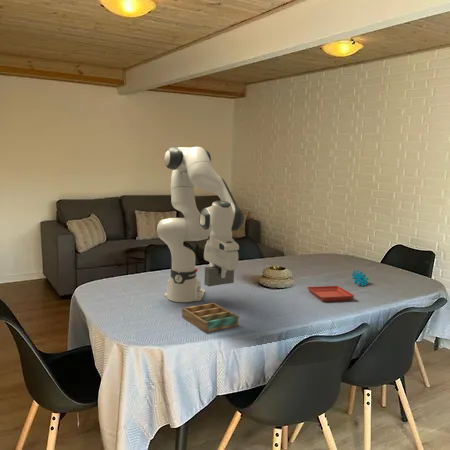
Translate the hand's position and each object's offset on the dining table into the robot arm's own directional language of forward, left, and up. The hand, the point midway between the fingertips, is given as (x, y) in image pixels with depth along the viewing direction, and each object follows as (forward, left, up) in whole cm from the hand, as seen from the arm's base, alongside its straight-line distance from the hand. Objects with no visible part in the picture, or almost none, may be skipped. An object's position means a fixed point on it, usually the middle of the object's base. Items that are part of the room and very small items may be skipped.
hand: (219, 276), depth 186 cm
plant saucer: (-61, +40, -22) cm, 76 cm away
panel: (0, 0, -3) cm, 3 cm away
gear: (-91, +55, -21) cm, 108 cm away
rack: (-4, -5, -21) cm, 22 cm away
